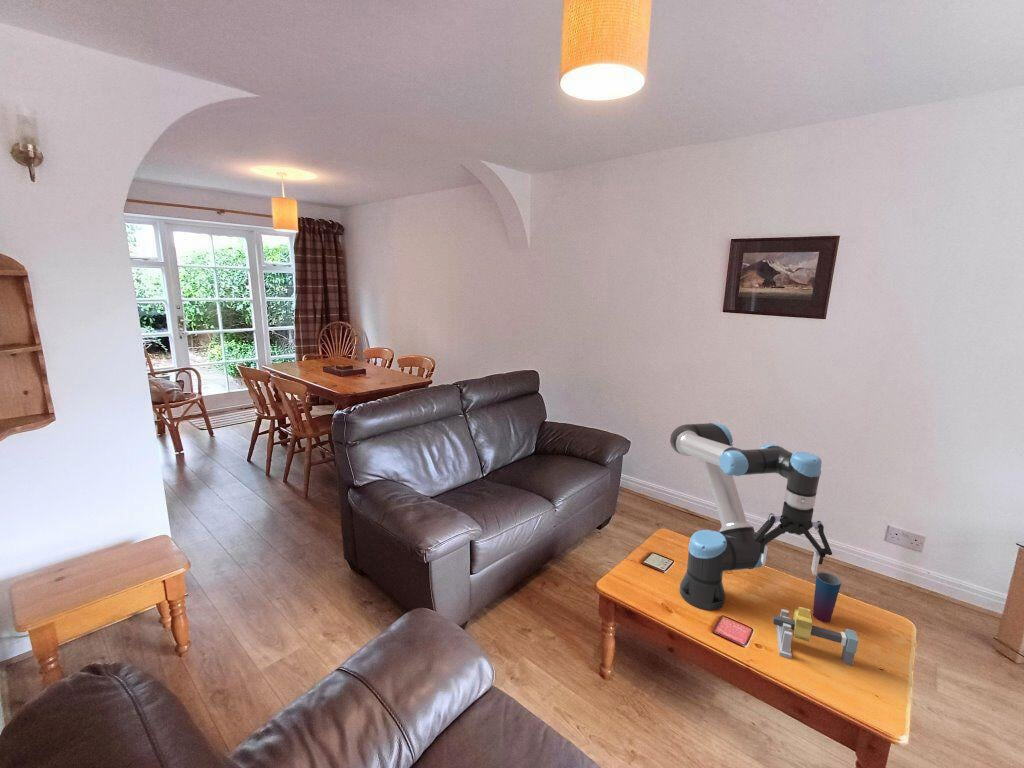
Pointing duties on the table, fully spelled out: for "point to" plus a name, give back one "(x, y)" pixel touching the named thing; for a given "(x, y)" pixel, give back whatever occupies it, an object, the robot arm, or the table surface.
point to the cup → (825, 596)
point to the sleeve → (802, 624)
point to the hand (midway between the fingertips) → (787, 567)
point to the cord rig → (785, 635)
